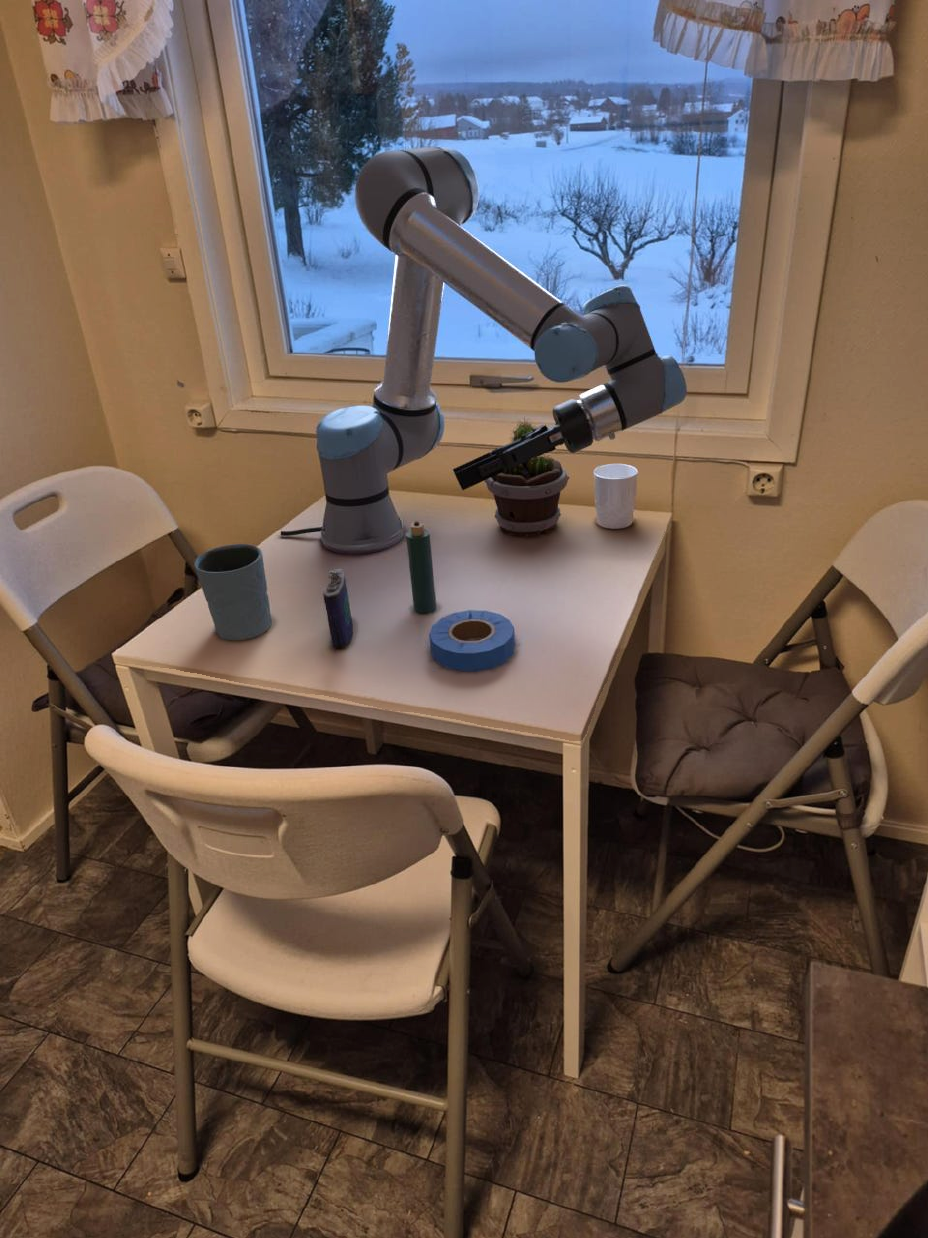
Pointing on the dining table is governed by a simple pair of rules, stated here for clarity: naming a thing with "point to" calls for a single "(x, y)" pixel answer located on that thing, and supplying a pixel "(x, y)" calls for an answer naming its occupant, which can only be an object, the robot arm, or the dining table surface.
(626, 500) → the grey faceted cup
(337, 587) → the flask
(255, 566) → the blue cup
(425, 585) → the green cylinder
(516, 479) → the flowerpot
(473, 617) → the tape roll
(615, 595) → the dining table surface
